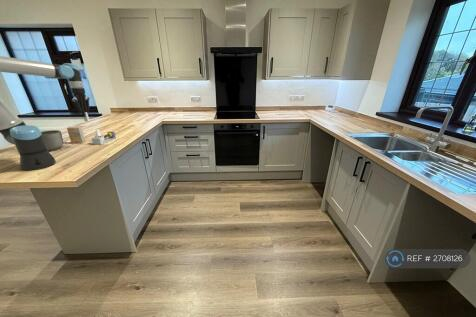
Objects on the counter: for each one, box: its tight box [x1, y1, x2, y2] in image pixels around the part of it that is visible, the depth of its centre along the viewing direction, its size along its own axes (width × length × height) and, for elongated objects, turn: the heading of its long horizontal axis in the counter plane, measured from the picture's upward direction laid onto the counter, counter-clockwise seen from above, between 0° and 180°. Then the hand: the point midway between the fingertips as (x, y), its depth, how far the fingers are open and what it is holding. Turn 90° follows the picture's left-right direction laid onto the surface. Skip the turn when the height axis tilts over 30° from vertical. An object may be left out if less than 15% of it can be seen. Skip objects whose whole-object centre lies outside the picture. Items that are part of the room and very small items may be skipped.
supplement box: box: [66, 126, 86, 144], centre depth 157 cm, size 8×5×13 cm, turn 105°
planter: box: [41, 129, 64, 152], centre depth 141 cm, size 14×14×13 cm
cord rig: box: [91, 131, 117, 146], centre depth 163 cm, size 20×8×6 cm, turn 175°
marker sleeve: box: [94, 129, 106, 142], centre depth 157 cm, size 3×5×9 cm, turn 85°
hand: (87, 121), depth 145 cm, fingers closed
